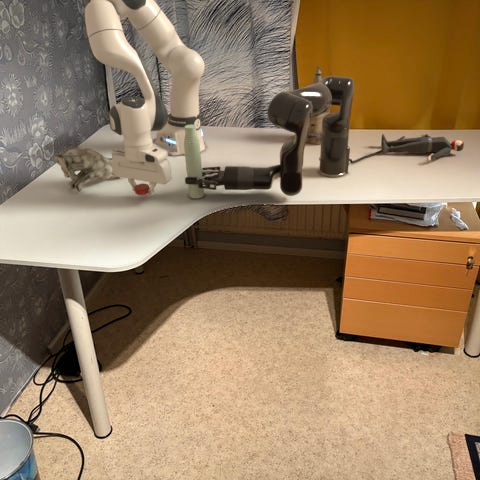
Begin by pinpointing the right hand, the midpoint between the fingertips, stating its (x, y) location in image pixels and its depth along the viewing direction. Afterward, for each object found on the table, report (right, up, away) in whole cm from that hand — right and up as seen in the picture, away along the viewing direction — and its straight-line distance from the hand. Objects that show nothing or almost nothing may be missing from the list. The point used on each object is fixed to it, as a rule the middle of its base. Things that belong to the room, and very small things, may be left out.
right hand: (186, 177), depth 172 cm
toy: (+87, +13, +34) cm, 94 cm away
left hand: (-14, -5, +1) cm, 15 cm away
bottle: (+3, -6, +3) cm, 7 cm away
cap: (-14, -3, -1) cm, 15 cm away
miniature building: (+48, +21, +49) cm, 72 cm away
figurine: (-33, -1, +12) cm, 35 cm away
